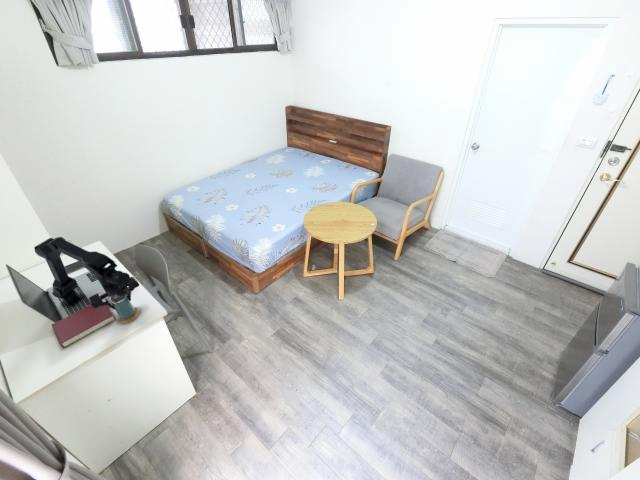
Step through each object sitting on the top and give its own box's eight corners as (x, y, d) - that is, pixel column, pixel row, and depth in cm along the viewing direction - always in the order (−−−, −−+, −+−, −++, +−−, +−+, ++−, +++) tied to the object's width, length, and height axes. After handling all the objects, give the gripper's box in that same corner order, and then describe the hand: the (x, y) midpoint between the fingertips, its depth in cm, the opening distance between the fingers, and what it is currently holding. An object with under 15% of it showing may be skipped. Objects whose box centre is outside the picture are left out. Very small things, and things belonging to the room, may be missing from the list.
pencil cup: (108, 299, 143) (106, 296, 132) (123, 292, 147) (122, 288, 136) (123, 323, 144) (122, 321, 133) (137, 315, 147) (138, 312, 137)
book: (54, 328, 138) (51, 324, 136) (105, 302, 150) (102, 298, 148) (63, 348, 130) (59, 344, 128) (115, 319, 142) (113, 315, 140)
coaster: (113, 320, 142) (113, 319, 141) (128, 306, 148) (128, 305, 148) (128, 325, 139) (128, 324, 139) (143, 310, 146) (143, 309, 146)
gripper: (88, 301, 120) (105, 326, 129) (137, 277, 131) (149, 302, 140) (80, 288, 126) (97, 312, 135) (127, 266, 137) (140, 290, 146)
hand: (122, 304), depth 139 cm, fingers closed on pencil cup, 7 cm apart
